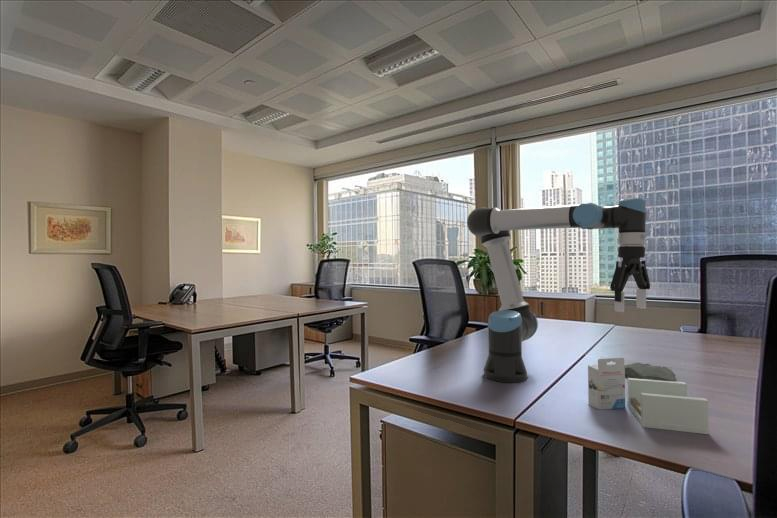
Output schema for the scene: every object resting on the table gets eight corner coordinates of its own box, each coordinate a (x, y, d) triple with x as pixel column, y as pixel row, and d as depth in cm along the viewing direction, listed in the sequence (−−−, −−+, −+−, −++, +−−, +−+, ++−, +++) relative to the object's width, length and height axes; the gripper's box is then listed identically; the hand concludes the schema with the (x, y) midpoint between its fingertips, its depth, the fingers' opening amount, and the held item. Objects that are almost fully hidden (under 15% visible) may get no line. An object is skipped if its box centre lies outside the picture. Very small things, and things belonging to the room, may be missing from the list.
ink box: (614, 401, 116) (613, 353, 115) (625, 408, 111) (625, 357, 110) (587, 403, 115) (587, 354, 115) (598, 410, 110) (598, 359, 110)
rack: (643, 427, 99) (643, 395, 99) (627, 404, 113) (627, 377, 113) (709, 434, 95) (709, 401, 94) (683, 410, 109) (683, 381, 109)
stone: (610, 363, 146) (644, 357, 148) (612, 376, 146) (647, 370, 148) (648, 373, 128) (688, 366, 130) (651, 388, 127) (690, 381, 130)
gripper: (622, 245, 117) (621, 314, 117) (662, 245, 129) (661, 308, 130) (598, 245, 123) (597, 311, 124) (638, 246, 136) (637, 305, 136)
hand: (630, 310), depth 127 cm, fingers open, 13 cm apart
